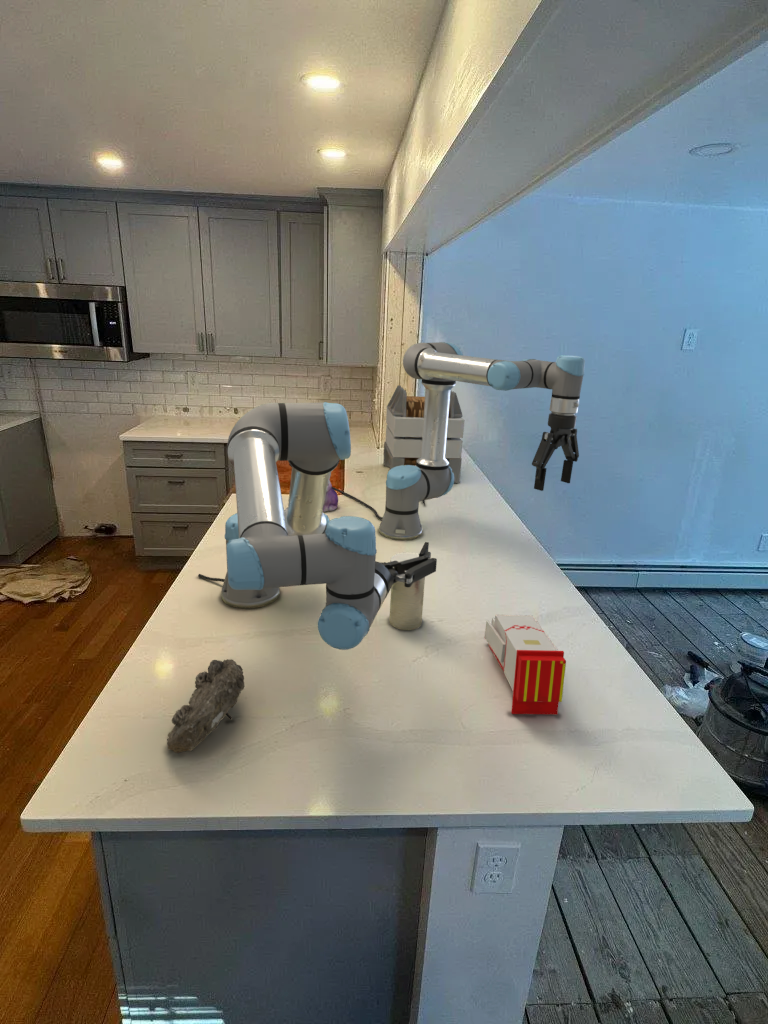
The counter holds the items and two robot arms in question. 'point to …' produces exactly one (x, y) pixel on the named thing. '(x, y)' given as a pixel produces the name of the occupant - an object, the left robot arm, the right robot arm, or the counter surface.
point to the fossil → (206, 705)
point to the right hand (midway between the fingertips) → (552, 485)
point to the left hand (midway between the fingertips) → (394, 543)
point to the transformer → (419, 431)
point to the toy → (527, 663)
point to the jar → (406, 605)
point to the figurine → (330, 498)
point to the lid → (403, 556)
